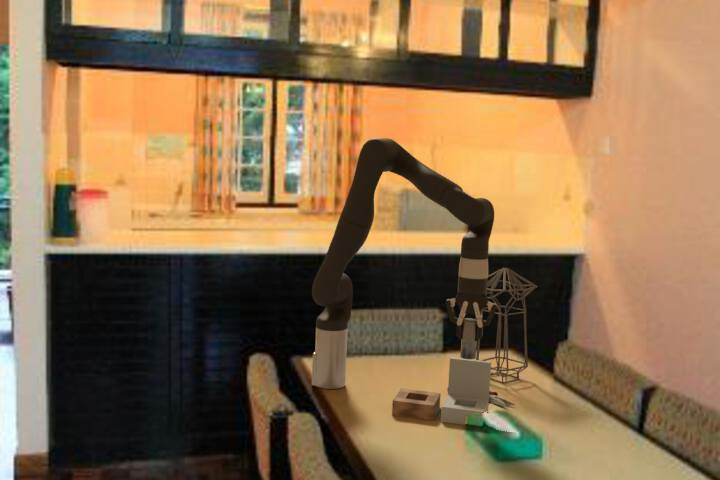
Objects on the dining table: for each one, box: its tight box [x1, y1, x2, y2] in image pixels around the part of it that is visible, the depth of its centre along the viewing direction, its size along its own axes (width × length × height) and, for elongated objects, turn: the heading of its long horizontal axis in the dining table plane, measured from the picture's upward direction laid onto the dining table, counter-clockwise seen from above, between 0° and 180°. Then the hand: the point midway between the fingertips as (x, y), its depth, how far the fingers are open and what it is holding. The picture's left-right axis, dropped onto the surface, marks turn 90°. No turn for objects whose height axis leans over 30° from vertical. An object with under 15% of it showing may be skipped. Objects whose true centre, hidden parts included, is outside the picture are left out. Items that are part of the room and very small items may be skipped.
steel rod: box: [459, 317, 478, 360], centre depth 201 cm, size 4×4×10 cm
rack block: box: [440, 356, 492, 426], centre depth 203 cm, size 11×12×14 cm
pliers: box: [447, 388, 516, 408], centre depth 220 cm, size 12×20×3 cm, turn 38°
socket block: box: [391, 387, 441, 421], centre depth 207 cm, size 11×11×4 cm
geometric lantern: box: [475, 267, 538, 384], centre depth 239 cm, size 16×16×35 cm
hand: (469, 339), depth 201 cm, fingers closed on steel rod, 4 cm apart
